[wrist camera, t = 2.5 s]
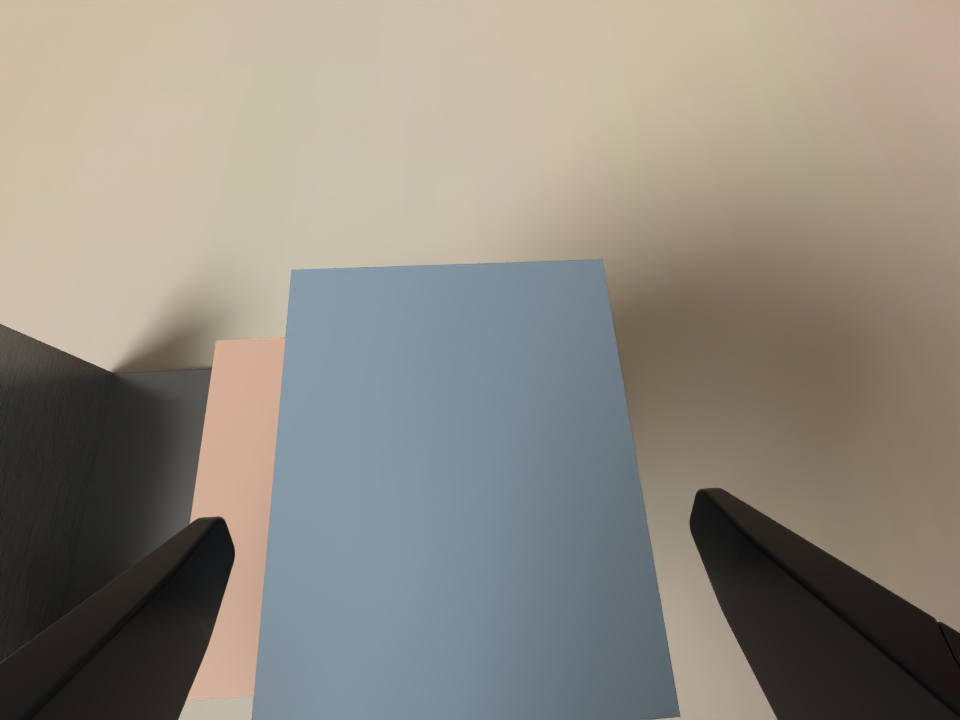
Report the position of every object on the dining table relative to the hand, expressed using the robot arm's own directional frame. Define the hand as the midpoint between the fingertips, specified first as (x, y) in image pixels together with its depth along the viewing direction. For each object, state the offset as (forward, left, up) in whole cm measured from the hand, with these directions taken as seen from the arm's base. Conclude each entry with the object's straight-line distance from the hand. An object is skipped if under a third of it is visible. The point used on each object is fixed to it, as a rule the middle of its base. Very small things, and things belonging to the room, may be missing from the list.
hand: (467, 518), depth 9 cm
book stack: (-2, +5, -8) cm, 10 cm away
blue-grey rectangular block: (0, 0, -8) cm, 8 cm away
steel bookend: (-4, +9, -8) cm, 13 cm away
